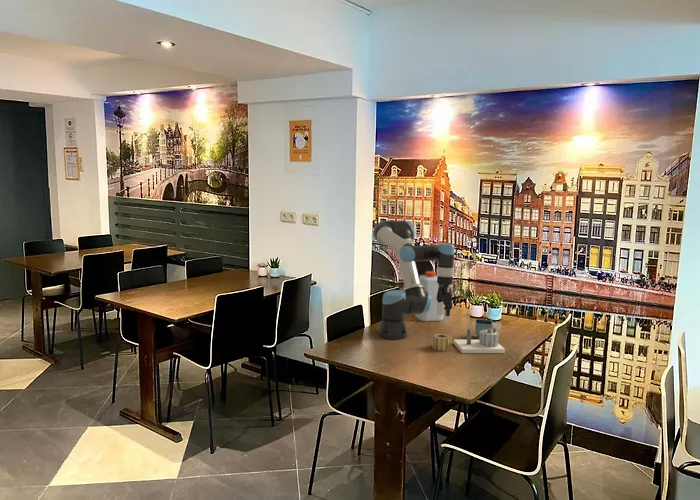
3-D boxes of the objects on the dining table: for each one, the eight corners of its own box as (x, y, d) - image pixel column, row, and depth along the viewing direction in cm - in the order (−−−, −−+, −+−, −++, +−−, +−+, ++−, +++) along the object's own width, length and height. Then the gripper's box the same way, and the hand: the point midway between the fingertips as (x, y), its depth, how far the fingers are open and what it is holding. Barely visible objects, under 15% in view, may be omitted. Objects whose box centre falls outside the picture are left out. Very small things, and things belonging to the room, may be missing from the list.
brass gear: (434, 351, 251) (435, 338, 250) (430, 345, 260) (430, 333, 259) (453, 351, 252) (453, 339, 251) (448, 345, 261) (448, 333, 260)
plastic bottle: (412, 315, 317) (414, 270, 313) (436, 314, 319) (438, 269, 316) (420, 322, 302) (422, 274, 298) (445, 321, 305) (447, 274, 301)
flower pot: (492, 341, 268) (493, 324, 267) (474, 340, 270) (475, 323, 269) (491, 336, 277) (492, 320, 276) (473, 335, 279) (474, 318, 278)
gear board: (461, 353, 249) (463, 332, 248) (453, 343, 264) (454, 324, 263) (504, 353, 251) (506, 332, 249) (494, 343, 265) (495, 324, 264)
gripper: (460, 280, 239) (458, 325, 242) (446, 271, 264) (444, 312, 266) (444, 280, 238) (442, 325, 241) (431, 271, 263) (429, 312, 266)
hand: (443, 318), depth 254 cm, fingers open, 13 cm apart
